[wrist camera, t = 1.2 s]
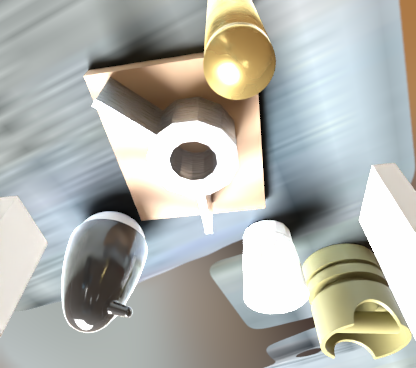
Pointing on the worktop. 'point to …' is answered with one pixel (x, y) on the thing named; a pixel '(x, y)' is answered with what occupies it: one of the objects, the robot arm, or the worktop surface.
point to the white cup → (272, 269)
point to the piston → (353, 301)
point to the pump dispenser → (101, 270)
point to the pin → (236, 50)
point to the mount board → (139, 146)
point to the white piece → (179, 141)
